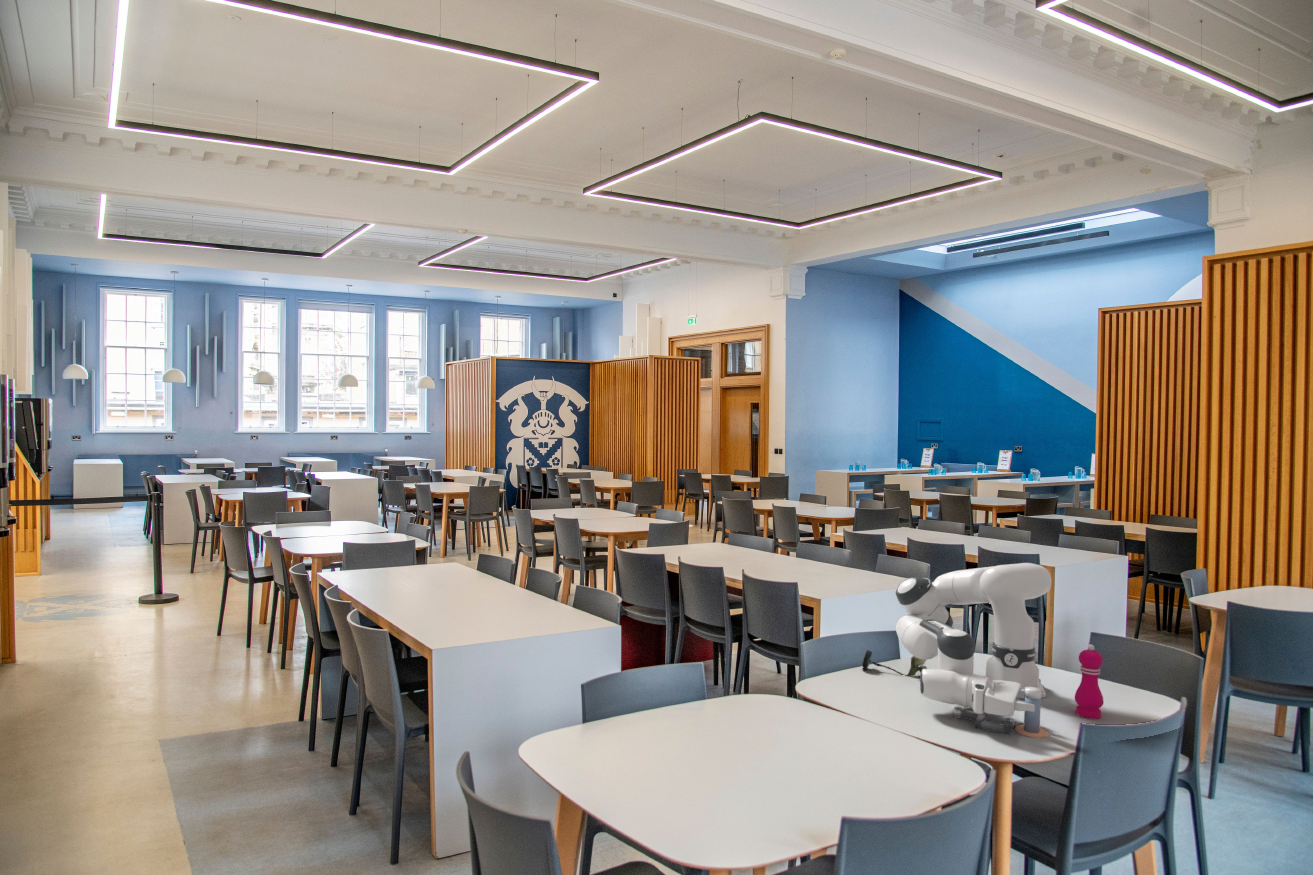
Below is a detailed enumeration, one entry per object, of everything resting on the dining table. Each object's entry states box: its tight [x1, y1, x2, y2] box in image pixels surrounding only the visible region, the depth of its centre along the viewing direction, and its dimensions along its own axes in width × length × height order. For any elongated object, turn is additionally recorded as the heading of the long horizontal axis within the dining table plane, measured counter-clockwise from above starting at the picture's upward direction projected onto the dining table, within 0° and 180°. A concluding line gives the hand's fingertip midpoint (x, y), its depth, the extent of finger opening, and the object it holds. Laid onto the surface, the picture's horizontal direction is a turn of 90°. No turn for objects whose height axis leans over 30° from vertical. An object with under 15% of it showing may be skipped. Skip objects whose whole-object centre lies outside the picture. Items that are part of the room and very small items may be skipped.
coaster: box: [1014, 724, 1050, 739], centre depth 216 cm, size 8×8×1 cm
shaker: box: [1023, 687, 1042, 733], centre depth 216 cm, size 4×4×11 cm
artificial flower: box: [861, 649, 928, 677], centre depth 265 cm, size 9×22×10 cm, turn 65°
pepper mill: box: [1074, 644, 1104, 720], centre depth 231 cm, size 7×7×20 cm
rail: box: [953, 706, 1015, 736], centre depth 220 cm, size 8×15×2 cm, turn 60°
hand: (1036, 702), depth 215 cm, fingers open, 8 cm apart
